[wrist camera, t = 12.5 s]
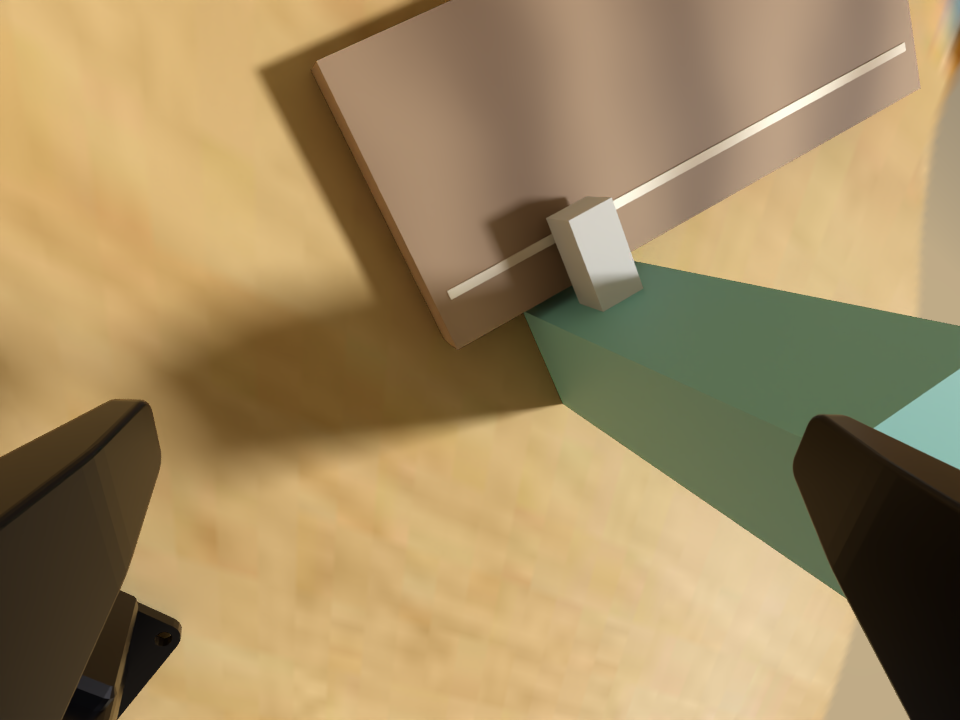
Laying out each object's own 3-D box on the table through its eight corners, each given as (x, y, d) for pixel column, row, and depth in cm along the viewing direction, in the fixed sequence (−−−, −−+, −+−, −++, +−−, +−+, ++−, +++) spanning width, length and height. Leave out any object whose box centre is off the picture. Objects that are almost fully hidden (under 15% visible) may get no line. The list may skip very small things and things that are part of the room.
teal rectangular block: (563, 403, 24) (877, 620, 12) (488, 232, 21) (797, 293, 9) (649, 351, 25) (1026, 506, 13) (588, 178, 22) (990, 174, 10)
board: (443, 339, 22) (458, 350, 20) (310, 70, 18) (316, 60, 17) (883, 93, 25) (922, 87, 24) (840, -170, 22) (882, -195, 20)
